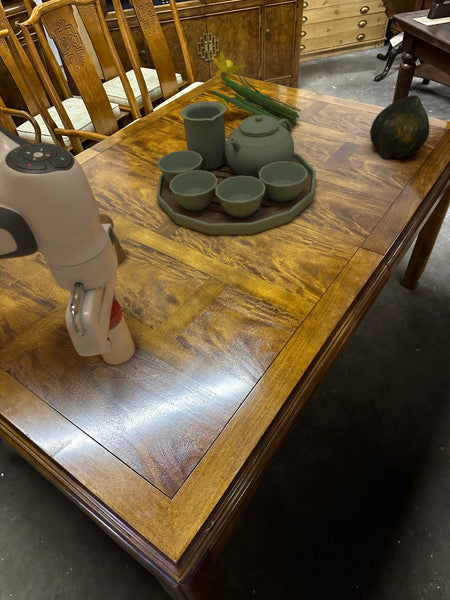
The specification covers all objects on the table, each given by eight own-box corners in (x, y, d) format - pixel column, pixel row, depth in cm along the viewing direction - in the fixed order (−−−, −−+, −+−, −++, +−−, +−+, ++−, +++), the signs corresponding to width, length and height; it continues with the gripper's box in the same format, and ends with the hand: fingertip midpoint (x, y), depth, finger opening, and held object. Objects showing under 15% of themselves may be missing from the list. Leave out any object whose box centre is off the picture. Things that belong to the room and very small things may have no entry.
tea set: (129, 219, 102) (111, 155, 90) (204, 146, 126) (197, 88, 114) (284, 255, 88) (286, 185, 76) (335, 165, 112) (342, 102, 100)
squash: (356, 140, 109) (407, 97, 99) (364, 119, 119) (411, 78, 109) (391, 178, 113) (444, 141, 102) (396, 154, 123) (444, 118, 112)
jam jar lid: (123, 300, 69) (121, 294, 68) (122, 328, 65) (119, 321, 63) (86, 305, 69) (84, 299, 68) (82, 333, 64) (79, 327, 63)
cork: (110, 249, 94) (95, 207, 86) (131, 255, 92) (119, 213, 84) (93, 265, 91) (76, 223, 83) (115, 272, 88) (100, 230, 81)
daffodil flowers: (277, 145, 124) (182, 97, 132) (289, 150, 138) (202, 106, 145) (305, 88, 118) (203, 40, 126) (314, 98, 131) (222, 55, 139)
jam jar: (101, 368, 71) (81, 329, 64) (104, 341, 75) (86, 302, 68) (135, 363, 71) (119, 324, 64) (136, 337, 75) (121, 298, 68)
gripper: (95, 313, 51) (123, 377, 61) (112, 217, 65) (133, 281, 75) (43, 319, 51) (80, 382, 61) (72, 222, 65) (98, 285, 75)
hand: (109, 326), depth 68 cm, fingers open, 8 cm apart
